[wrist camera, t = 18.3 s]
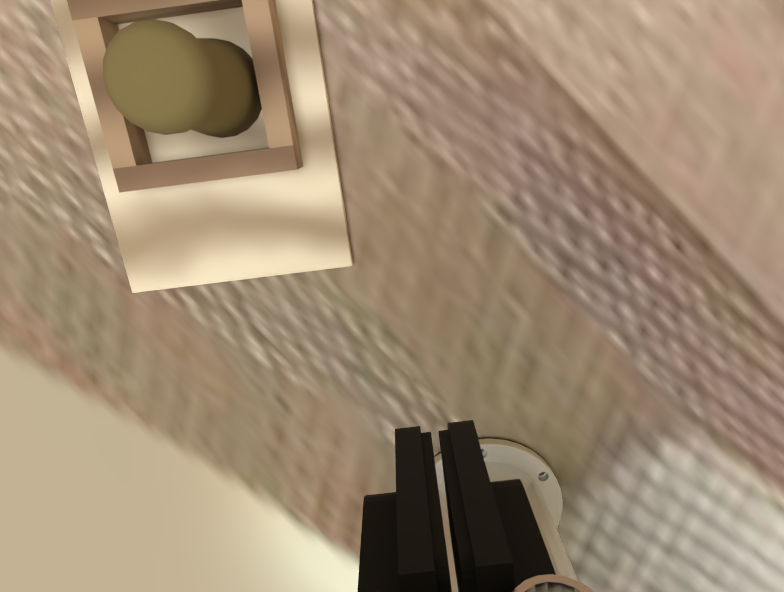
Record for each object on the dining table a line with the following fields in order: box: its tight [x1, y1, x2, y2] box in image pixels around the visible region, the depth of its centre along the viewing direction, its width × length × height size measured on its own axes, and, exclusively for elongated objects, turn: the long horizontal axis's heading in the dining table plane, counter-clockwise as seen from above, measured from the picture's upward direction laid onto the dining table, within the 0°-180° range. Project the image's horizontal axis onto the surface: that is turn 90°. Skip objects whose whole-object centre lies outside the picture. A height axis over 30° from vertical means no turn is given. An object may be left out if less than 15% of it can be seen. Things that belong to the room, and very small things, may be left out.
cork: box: [103, 19, 262, 138], centre depth 30 cm, size 6×6×11 cm
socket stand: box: [50, 0, 353, 293], centre depth 36 cm, size 20×16×4 cm
